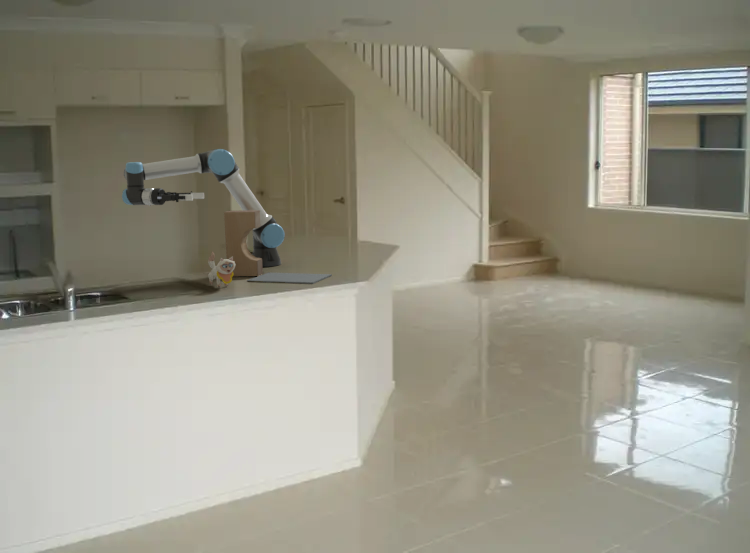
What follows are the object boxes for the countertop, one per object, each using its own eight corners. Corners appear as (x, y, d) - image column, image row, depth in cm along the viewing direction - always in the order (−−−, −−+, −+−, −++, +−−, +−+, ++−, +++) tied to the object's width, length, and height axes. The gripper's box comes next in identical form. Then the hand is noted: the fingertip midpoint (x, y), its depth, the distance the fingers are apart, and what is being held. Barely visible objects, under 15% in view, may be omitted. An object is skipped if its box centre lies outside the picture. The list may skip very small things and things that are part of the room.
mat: (268, 273, 418) (268, 272, 418) (331, 275, 408) (331, 274, 408) (246, 281, 398) (246, 280, 398) (313, 283, 387) (312, 282, 387)
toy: (220, 290, 376) (218, 255, 374) (200, 285, 392) (198, 251, 389) (239, 288, 382) (237, 253, 379) (219, 282, 397) (217, 249, 394)
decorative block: (227, 276, 414) (223, 211, 409) (233, 273, 421) (229, 210, 416) (257, 276, 410) (254, 211, 405) (263, 274, 417) (260, 210, 413)
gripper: (168, 202, 416) (210, 202, 408) (141, 207, 395) (185, 207, 388) (167, 186, 415) (210, 186, 407) (140, 190, 394) (184, 189, 387)
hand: (198, 196), depth 398 cm, fingers open, 9 cm apart
